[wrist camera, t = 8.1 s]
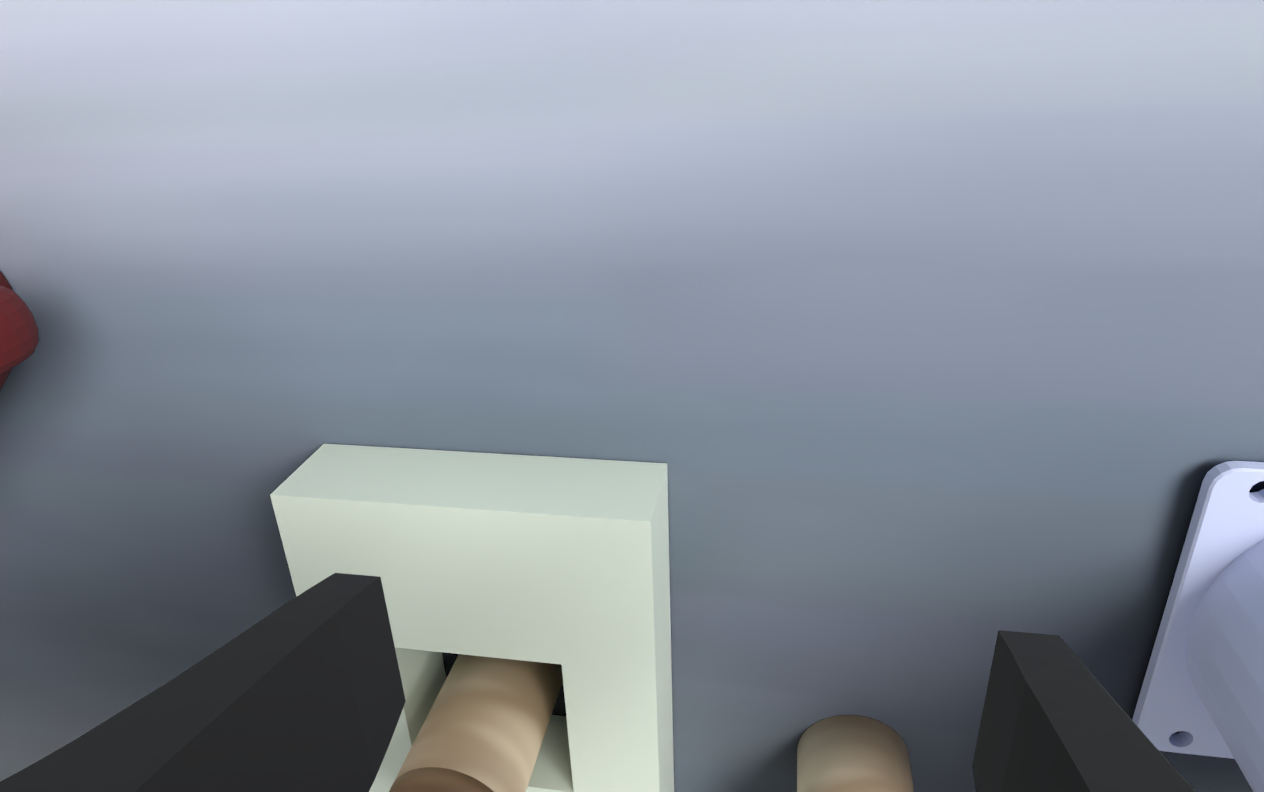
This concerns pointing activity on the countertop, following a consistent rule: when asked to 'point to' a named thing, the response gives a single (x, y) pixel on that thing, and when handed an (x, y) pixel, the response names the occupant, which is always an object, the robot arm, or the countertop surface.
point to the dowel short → (852, 757)
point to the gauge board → (508, 588)
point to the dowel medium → (483, 727)
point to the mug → (14, 330)
